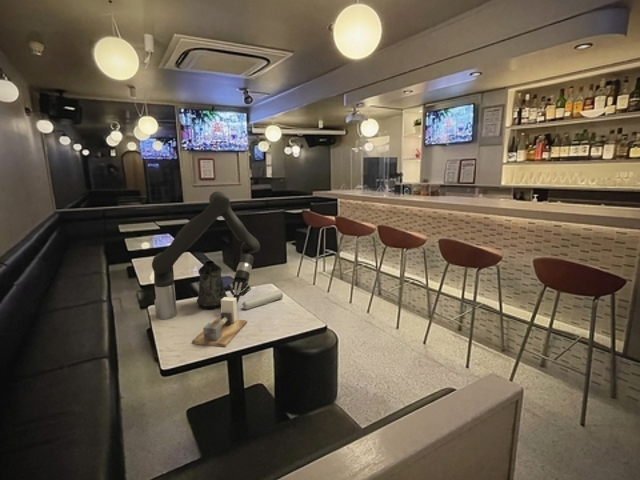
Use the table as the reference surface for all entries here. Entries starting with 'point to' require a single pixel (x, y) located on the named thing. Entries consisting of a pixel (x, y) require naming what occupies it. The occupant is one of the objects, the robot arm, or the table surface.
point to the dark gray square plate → (227, 315)
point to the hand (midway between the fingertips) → (234, 302)
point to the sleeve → (229, 307)
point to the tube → (262, 300)
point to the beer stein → (210, 287)
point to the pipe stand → (219, 332)
